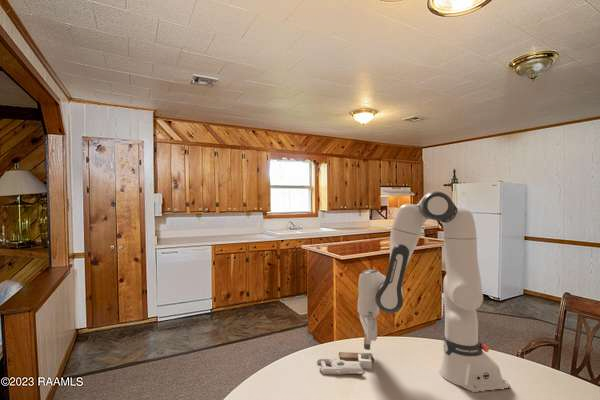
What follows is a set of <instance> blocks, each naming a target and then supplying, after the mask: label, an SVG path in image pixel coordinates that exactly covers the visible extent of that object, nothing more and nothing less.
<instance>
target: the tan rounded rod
mask: <svg viewBox="0 0 600 400" xmlns="http://www.w3.org/2000/svg"><path fill="white" fill-rule="evenodd" d="M363 333H364V334H363V336H364V337H363V349H364V350H365V351H369V350H371V344H367V343H366V334H365V331H364V330H363Z"/></svg>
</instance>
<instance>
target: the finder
mask: <svg viewBox="0 0 600 400" xmlns="http://www.w3.org/2000/svg"><path fill="white" fill-rule="evenodd" d="M357 362H362V363H363V366H362V367H361V368H362V369H371V370H372V362H373V361H371V355H365V354H358V360H357Z"/></svg>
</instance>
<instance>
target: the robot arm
mask: <svg viewBox="0 0 600 400" xmlns="http://www.w3.org/2000/svg"><path fill="white" fill-rule="evenodd" d="M428 220H430V221H431V220H432V221H437V222H440V223H441V225H442V229H443V252H444V253H443V254H444V263H445V270H446V271H445V275H444V277H443V303H444V334H443V342H442V347H443V356H442V362H441V365H440V367H439V373H440V375H441V376H442V377H443V378H444V379H446V380H447V382H450V383H452V384H454V385H456V386H459V387H462V388H464V389H466V390H468V391H470V392H472V393H479V391H481V392H486V391H485V390H492V391H495V390H494V389H502V388H503V390H505V389H504V388H508V387H509V388H510V384H509V381H507V379H506V378H505V377H504V376H503V374H502V373H501V369H500V366H499V365H498V364H497V363H496V361H495V360H494V359H493V358H491V357H490V356H489V355H488V354H487V353H488V352H489V351H490V348H489V346H487V345H486V344H485V343H484V344H483V343H482V342H481V341H480V340H479V319H478V315H477V313H478V312H477V309H478V308H480V307H481V305H482V304H483V302H484V295H483V288H482V279H481V278H482V277H481V273H480V272H481V271H480V267H479V261H478V259H479V258H478V243H477V241H478V239H477V237H478V236H477V229H476V228H477V227H476V222H475V218H474V215H473V213H472V212H471V211H470V210H468V209H465V208H458V207H457V206H456V204H455V203H454V202H453V200H452V198H451V197H450V196H449V195H448V194H447V193H444V192H441V191H429V192H427V193H426V194H424V196H422V198H421V199H420V200H419V201H418V202H417V203H416V204H412V203H405V204H402V205H400V207H399V208H398V210H397V212H396V214H395V216H394V219H393V223H392V226H391V231H390V234H389V236H390V237H389V262H388V267H387V270H386V271H387V272H386V275H384V274H382V273H381V272H380V271H379V270H377V269H373V268H372V269H365V270H362V272H360V273H359V277H358V284H357V285H358V286H357V289H358V292H357V293H358V296H357V297H358V298H357V312H358V315H359V321H360V324H361V325H362V328H363V332H364V331H365V334H366V343H367V344H370V345H371V344H372V341H373V342H374V341H377V339H378V324H377V323H378V321H377V319H376V318H377V317H376V316H378V315H380V310H381V311H382V312H383V313H387V314H395V313H398V312H400V311H401V309H402V308H403V304H404V299H403V297H404V295H403V294H404V289H403V282H404V278H405V274H406V270H407V269H406V268H407V265H408V264H409V261H410V259H411V257H412V255H413V254H414V252H415V250H416V247H417V245H418V243H419V240H420V236H421V232H422V227H423V225H424V223H425V222H427V221H428ZM505 382H506V383H505Z"/></svg>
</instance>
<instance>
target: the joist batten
mask: <svg viewBox="0 0 600 400" xmlns="http://www.w3.org/2000/svg"><path fill="white" fill-rule="evenodd" d="M358 354H365V355H371V361H372V362H373V361H374V360H375V359H374V356H373V353H371V352H369V353H368V352H347V351H346V352H345V351H342V352H341V351H340V352H338V357H339V358H338V359H340V360H345V361H346V360H348V361H349V360H350V361H358Z"/></svg>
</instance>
